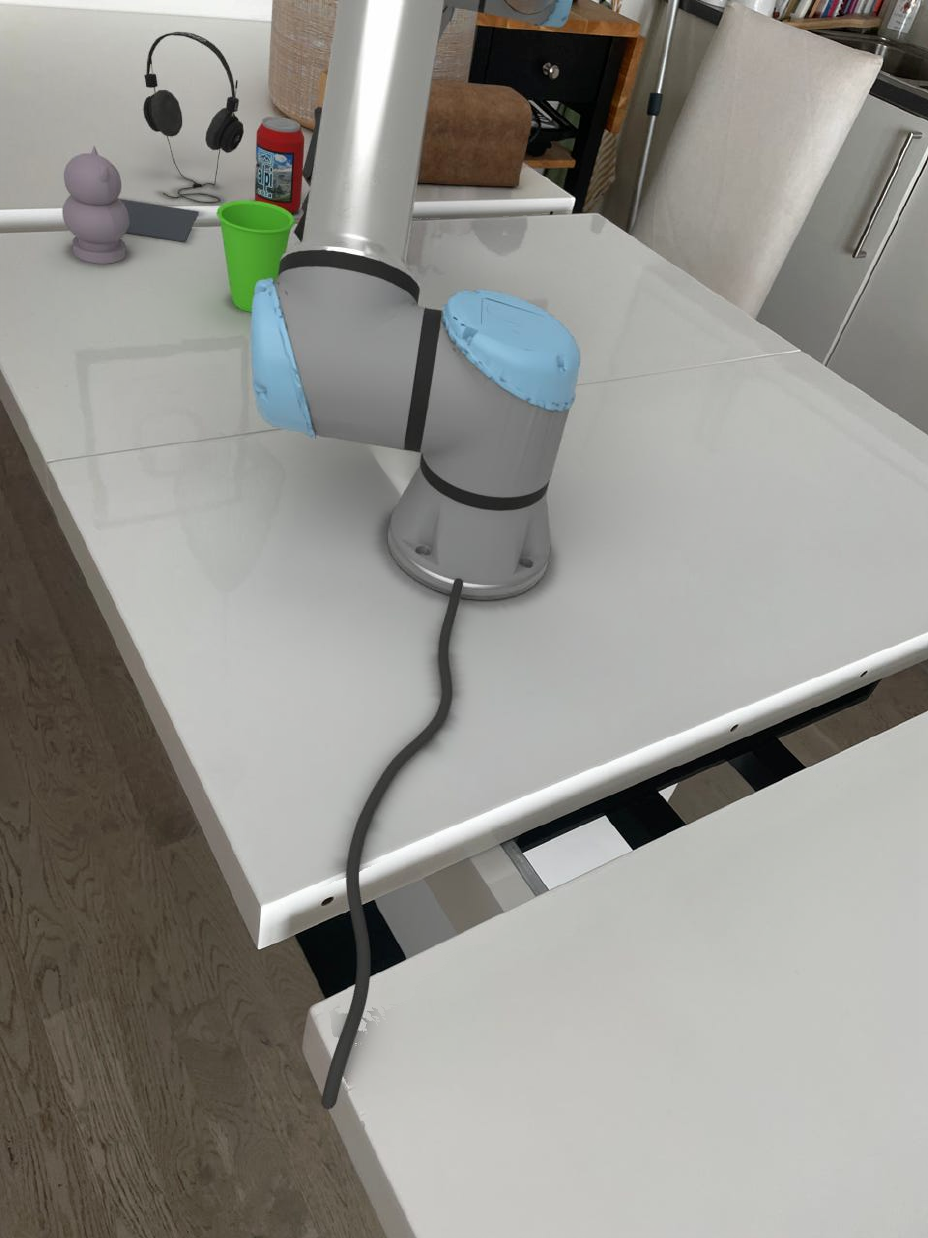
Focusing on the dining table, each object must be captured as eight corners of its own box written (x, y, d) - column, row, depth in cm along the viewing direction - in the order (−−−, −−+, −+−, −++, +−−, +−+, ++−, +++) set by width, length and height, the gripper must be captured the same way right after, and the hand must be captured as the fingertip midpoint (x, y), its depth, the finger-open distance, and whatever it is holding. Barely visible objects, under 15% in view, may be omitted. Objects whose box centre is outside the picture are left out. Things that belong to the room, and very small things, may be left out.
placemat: (185, 241, 133) (185, 240, 133) (100, 229, 131) (100, 227, 131) (198, 212, 141) (198, 211, 141) (119, 200, 139) (119, 198, 139)
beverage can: (245, 206, 146) (247, 119, 138) (272, 195, 150) (275, 111, 143) (282, 220, 144) (287, 133, 136) (309, 210, 149) (314, 125, 141)
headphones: (119, 181, 144) (110, 27, 131) (161, 163, 153) (156, 16, 140) (211, 210, 142) (211, 56, 129) (248, 189, 151) (252, 43, 138)
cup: (207, 288, 124) (207, 199, 116) (277, 286, 127) (282, 200, 120) (226, 321, 118) (228, 230, 111) (299, 318, 122) (305, 230, 115)
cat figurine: (59, 239, 127) (49, 141, 119) (122, 238, 130) (116, 142, 122) (73, 268, 121) (64, 167, 114) (138, 265, 125) (133, 168, 117)
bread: (521, 189, 173) (538, 102, 163) (333, 181, 160) (341, 85, 150) (490, 161, 182) (506, 76, 172) (311, 150, 169) (317, 59, 159)
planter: (468, 113, 203) (498, -75, 181) (448, 167, 175) (481, -48, 154) (293, 75, 201) (303, -119, 180) (244, 123, 174) (249, -100, 152)
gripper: (435, 112, 129) (354, 270, 128) (352, 84, 132) (272, 237, 131) (421, 73, 122) (334, 240, 121) (333, 44, 125) (248, 206, 124)
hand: (302, 239), depth 126 cm, fingers closed
